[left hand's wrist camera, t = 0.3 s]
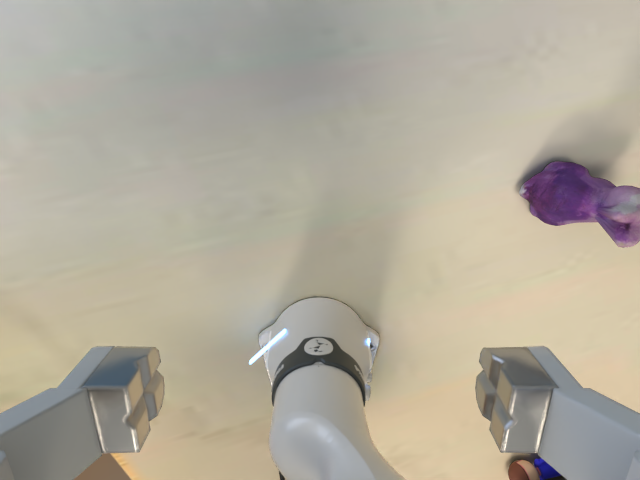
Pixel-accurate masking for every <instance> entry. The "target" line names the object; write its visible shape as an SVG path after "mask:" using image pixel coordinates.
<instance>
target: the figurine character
mask: <svg viewBox="0 0 640 480" xmlns="http://www.w3.org/2000/svg"><path fill="white" fill-rule="evenodd" d="M508 475H509V479H510V480H567V479H566V478H564V477H563V476H562V475H561V474H560V473H558V472H557V471H556V470H555V469H554V468H553V467H551V466H550V465H549V464H548V463H547V462H545V461H544V460H543V459H542V458H539V459H535V460H534V465H533V464H531V463H530V462H528V461H526V460H516V461H514V462H513V463H512V464H511V465H510V467H509V470H508Z"/></svg>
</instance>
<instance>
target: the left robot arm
mask: <svg viewBox="0 0 640 480" xmlns="http://www.w3.org/2000/svg"><path fill="white" fill-rule="evenodd" d="M379 341H380V339H379V334H378V333H377V332H376V331H375V330H373V329H372V328H370V327H368V326H367V325H365V324H364V323H363V322H362V321H361V319H360V318H359V316H358V315H357V314H356V313H355V312H354V311H353V310H352V309H351V308H350V307H349V306H347V305H345V304H344V303H342V302H340V301H337V300H334V299H330V298H322V297H315V298H308V299H304V300H301V301H298V302H296V303H294V304H292V305H291V306H289V307H288V308H287V309H286V310H285V311H284V312H283V313H282V314H281V315H280V316H279V318H278V319H277V321H276V322H275V323H274V324H273V325H272V326H270V327H268V328H266V329H265V330H263V331H262V332H261V333H260V334H259V345H260V348H261V351H259V352H258V353H257V354H256V355H255V356H254V357H253V358H252V359H251V360H250V362H249V364H250V365H251V364H252V363H253V362H254V361H255V360H256V359H257V358H258V357H260V356H261V355H263V359H264V362H265V365H266V369H267V372H268V376H269V379H270V383H271V386H272V404H273V414H272V421H271V428H270V435H269V449H270V453H271V456H272V459H273V461H274V463H275V465H276V466H277V468H278V469H279V474H280V480H284V478H285V479H286V480H406V479H405V478H404V477H402V476H401V475H400V474H399V473H398V472H397V471H396V470H395V469H394V468H393V467H392V466H391V465H390V464H389V463H388V462H387V461H386V460H385V459H384V458H383V456H382V455H381V454H380V452H379V451H378V450H377V448H376V447H375V445H374V443H373V441H372V439H371V436H370V433H369V429H368V425H367V421H366V416H365V411H364V406H365V401H369V398H370V386H369V385H367V383H368V382H371V381H372V373H371V369H372V366H373V362H374V359H375V356H376V352H377V349H378V345H379ZM266 344H267V345H266ZM370 344H372V345H371V346H370ZM160 362H161V360H160V354H159V350H158V349H157V348H156V347H121V346H117V347H114V346H97V347H94V348H92V349H91V350H90V351H89V352H88V353H87V354H86V355H85V356H84V358H83V359H82V360H81V361H80V362H79V363H78V364H77V366H76V367H75V368H74V369H73V370H72V371H71V372H70V374H69V375H68V376H67V377H66V378H65V379H64V380H63V382H62V383H61V384H60V385H59V386H58V387H57V388H50V389H48V390H46V391H44V392H42V393H40V394H38V395H36V396H34V397H32V398H30V399H28V400H26V401H24V402H22V403H20V404H18V405H16V406H14V407H12V408H10V409H8V410H6V411H4V412H2V413H1V414H0V480H73V479H75V478H76V477H77V476H78V475H79V474H80V473H82V472H83V471H84V470H85V469H86V468H88V467H89V466H90V465H91V464H92V463H94V462H95V461H96V460H97V459H98V458H99V457H101V456H102V453H130V452H140V450H141V448H142V446H143V444H144V442H145V440H146V438H147V436H148V434H149V432H150V424H149V421H151V420H152V419H153V418H155V417H156V416H157V415H158V413H159V411H160V409H161V407H162V403H163V398H164V378H163V376H162V375H161V374H160V373H159V372H158V371H157V368H158V366H159V364H160ZM479 362H480V364H481V366H482V368H483V371H482V372H481V373H480V374H479V375H478V376H477V379H476V387H475V389H476V400H477V403H478V407H479V409H480V411H481V413H482V415H483V416H484V417H485V418H487V419H488V420H489V421H491V424H490V432H491V434H492V436H493V438H494V440H495V442H496V444H497V446H498V448H499V450H500V452H509V453H538V456H540V457H541V458H542V459H543V460H544V461H545V462H547V463H548V464H549V465H550V466H551V467H553V468H554V469H555V470H556V471H557V472H558V473H560V474H561V475H562V476H563V477H564V478H566V479H567V480H640V414H639V413H637V412H635V411H633V410H631V409H630V408H628V407H626V406H624V405H622V404H620V403H618V402H616V401H614V400H612V399H610V398H608V397H606V396H604V395H602V394H600V393H598V392H596V391H594V390H592V389H590V388H583V387H582V386H581V385H580V384H579V383H578V382H577V381H576V379H575V378H574V377H573V376H572V375H571V374H570V372H569V371H568V370H567V369H566V368H565V367H564V366H563V364H562V363H561V362H560V361H559V360H558V359H557V358H556V356H555V355H554V354H553V353H552V352H551V351H550V350H549V349H548V348H547V347H544V346H530V347H500V348H483V349H482V351H481V353H480V359H479Z"/></svg>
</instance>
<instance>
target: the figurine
mask: <svg viewBox="0 0 640 480" xmlns="http://www.w3.org/2000/svg"><path fill="white" fill-rule="evenodd" d="M519 194H520V196H522V197H523V198H525V199H527V200H528V201H529V202H530V212H531V214H532V215H534V216H536V217H538V218H539V219H540V220H541V221H543V222H544V223H547V224H550V225H555V226H559V225H565V224H570V223H578V222H599V224H600V225H601V226H602V227H603V228H604V230H605V231H606V232H607V233H608V235H609V236H610V237H611V238H612V239H613V241H614V242H615V243H616V244H617V246H618V247H631V246H634V245H636V244H637V243H638V242H639V241H640V188H637V187H633V186H618V187H616V186H615V185H614V184H612V183H611V182H609V181H608V180H605V179H601V178H595V177H591V176H590V175H589V172H588V170H587V169H586V168H585V167H583V166H581V165H579V164H576V163H572V162H561V161H555V162H551V163H550V164H548V165H547V166H546V167H545V168H544V170H543V171H542V172H540V173H538V174H536V175H535V176H533V177H532V178H531V179H529V180H528V181H526V182H525V183H524V184H523V185H522V187H521V188H520V191H519Z"/></svg>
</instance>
